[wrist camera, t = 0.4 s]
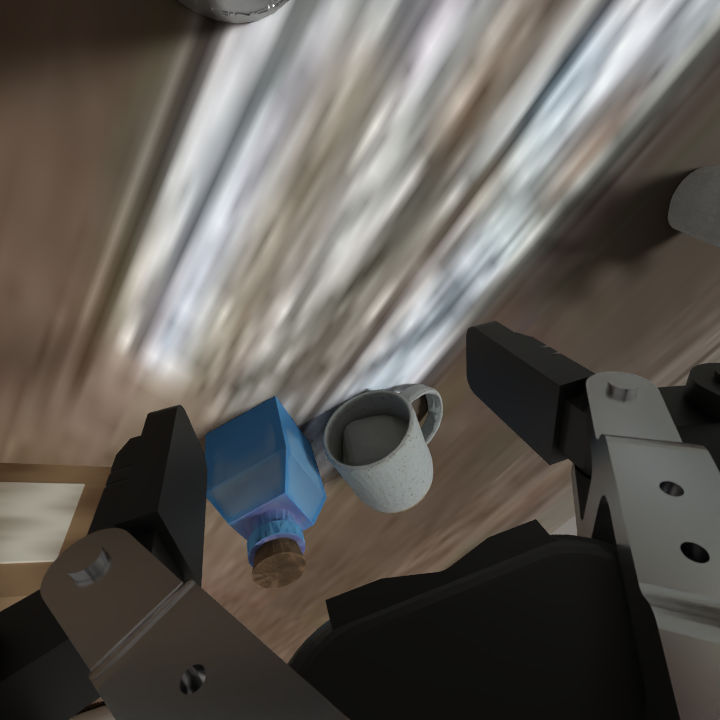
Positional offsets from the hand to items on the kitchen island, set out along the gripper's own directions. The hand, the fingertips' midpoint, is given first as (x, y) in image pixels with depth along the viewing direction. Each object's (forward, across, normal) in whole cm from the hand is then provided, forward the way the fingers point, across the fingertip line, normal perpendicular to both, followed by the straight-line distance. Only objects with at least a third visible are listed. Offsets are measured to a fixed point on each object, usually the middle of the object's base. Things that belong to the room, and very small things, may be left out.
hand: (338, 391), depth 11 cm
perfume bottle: (+19, +4, +15) cm, 24 cm away
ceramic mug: (+19, -6, +16) cm, 26 cm away
